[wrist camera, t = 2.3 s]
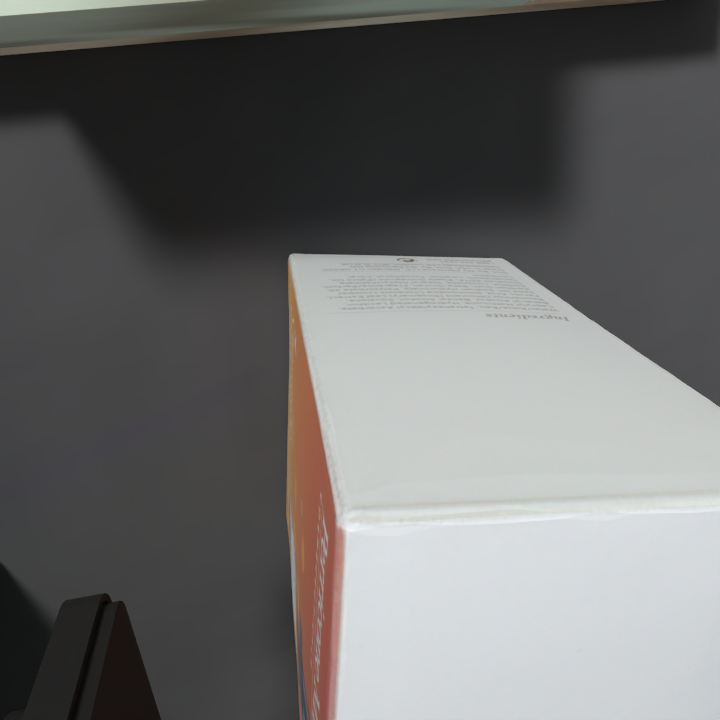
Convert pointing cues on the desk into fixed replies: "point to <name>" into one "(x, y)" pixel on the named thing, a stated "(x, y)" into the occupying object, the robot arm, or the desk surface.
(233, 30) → the base
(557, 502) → the small box
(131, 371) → the desk surface
